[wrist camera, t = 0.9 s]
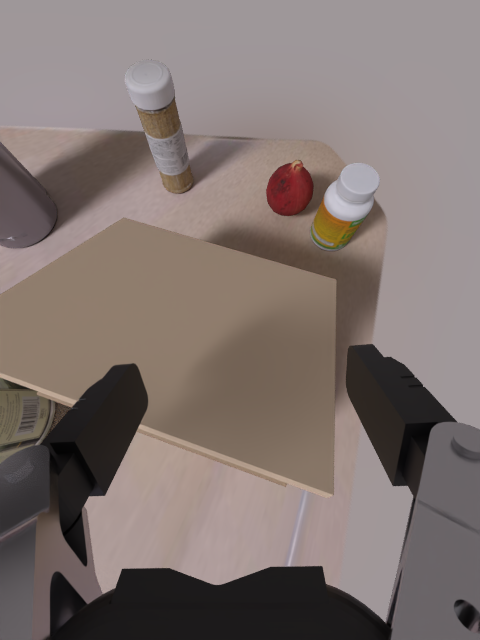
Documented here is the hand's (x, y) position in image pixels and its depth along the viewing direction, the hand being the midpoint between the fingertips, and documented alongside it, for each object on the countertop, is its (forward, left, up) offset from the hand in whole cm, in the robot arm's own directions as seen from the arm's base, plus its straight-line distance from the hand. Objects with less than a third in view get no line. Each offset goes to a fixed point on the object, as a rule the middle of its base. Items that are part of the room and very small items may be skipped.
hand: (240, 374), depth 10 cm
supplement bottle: (-17, +16, -21) cm, 32 cm away
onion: (-22, +11, -21) cm, 33 cm away
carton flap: (-5, -2, -6) cm, 8 cm away
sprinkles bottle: (-30, -3, -21) cm, 37 cm away
